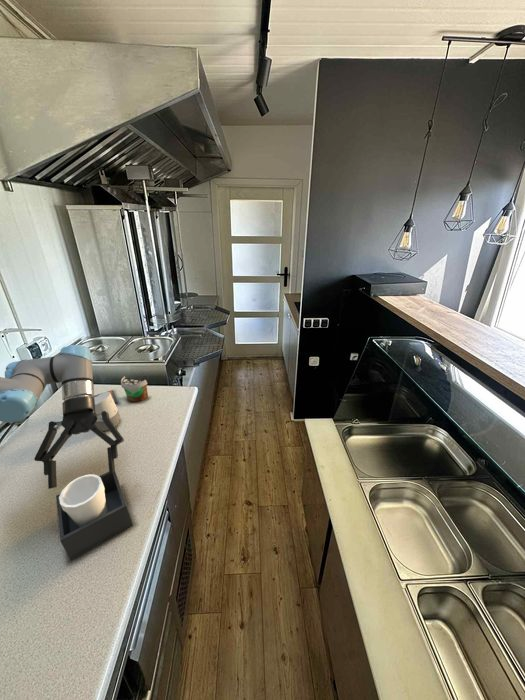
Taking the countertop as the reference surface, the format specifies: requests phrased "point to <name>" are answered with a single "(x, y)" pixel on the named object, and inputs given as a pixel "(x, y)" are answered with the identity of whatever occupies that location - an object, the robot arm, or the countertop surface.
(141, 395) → the food container
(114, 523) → the dark grey open box
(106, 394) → the smart speaker
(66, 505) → the foam cup
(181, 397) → the countertop surface
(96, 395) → the calculator
